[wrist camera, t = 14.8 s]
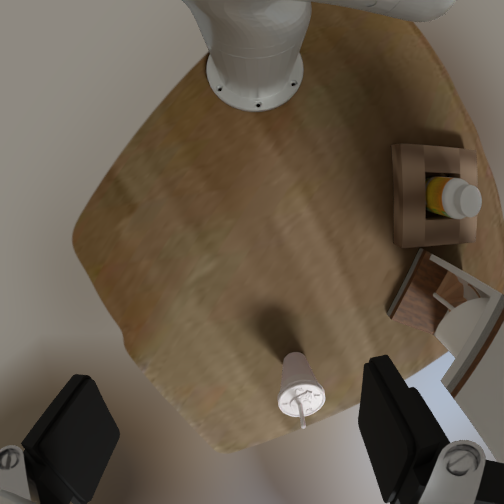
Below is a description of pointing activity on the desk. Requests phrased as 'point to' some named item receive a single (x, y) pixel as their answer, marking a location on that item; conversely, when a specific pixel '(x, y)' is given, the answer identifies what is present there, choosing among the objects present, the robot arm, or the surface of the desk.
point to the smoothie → (299, 388)
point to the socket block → (414, 195)
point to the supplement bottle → (452, 197)
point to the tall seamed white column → (461, 337)
